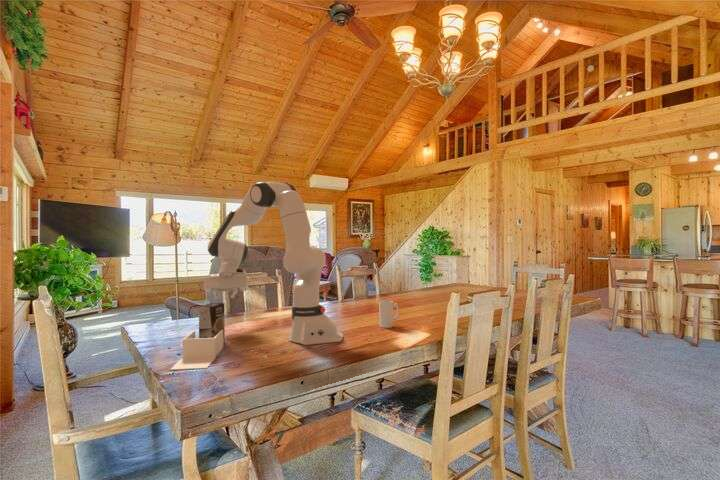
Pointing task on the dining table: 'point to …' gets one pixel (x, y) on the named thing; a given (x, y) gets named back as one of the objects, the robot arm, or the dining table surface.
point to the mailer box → (199, 352)
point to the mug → (387, 313)
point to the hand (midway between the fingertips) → (224, 297)
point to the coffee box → (211, 320)
